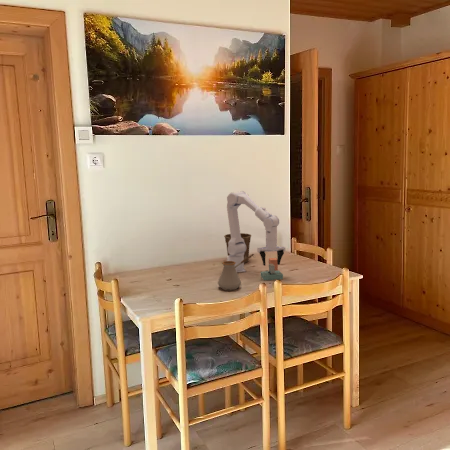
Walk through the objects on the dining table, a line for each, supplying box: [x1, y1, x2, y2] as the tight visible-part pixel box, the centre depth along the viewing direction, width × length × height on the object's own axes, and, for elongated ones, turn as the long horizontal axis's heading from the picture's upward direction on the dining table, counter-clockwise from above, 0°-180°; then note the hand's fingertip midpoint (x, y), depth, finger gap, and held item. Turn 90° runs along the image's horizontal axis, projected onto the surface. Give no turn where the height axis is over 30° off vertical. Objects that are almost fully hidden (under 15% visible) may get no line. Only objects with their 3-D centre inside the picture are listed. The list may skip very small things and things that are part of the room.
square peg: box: [268, 257, 279, 271], centre depth 255 cm, size 4×4×7 cm
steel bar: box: [268, 263, 275, 275], centre depth 243 cm, size 2×4×7 cm, turn 8°
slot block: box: [260, 270, 284, 281], centre depth 243 cm, size 10×8×2 cm
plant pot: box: [223, 232, 252, 264], centre depth 277 cm, size 16×16×16 cm
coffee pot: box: [217, 253, 255, 291], centre depth 228 cm, size 21×12×15 cm, turn 124°
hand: (271, 264), depth 242 cm, fingers open, 7 cm apart
